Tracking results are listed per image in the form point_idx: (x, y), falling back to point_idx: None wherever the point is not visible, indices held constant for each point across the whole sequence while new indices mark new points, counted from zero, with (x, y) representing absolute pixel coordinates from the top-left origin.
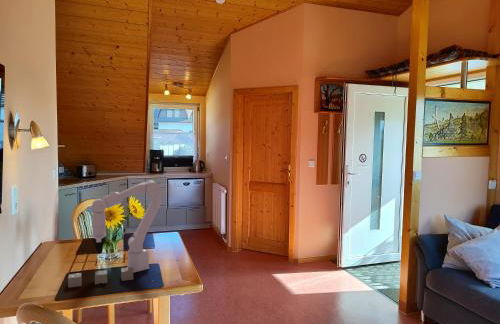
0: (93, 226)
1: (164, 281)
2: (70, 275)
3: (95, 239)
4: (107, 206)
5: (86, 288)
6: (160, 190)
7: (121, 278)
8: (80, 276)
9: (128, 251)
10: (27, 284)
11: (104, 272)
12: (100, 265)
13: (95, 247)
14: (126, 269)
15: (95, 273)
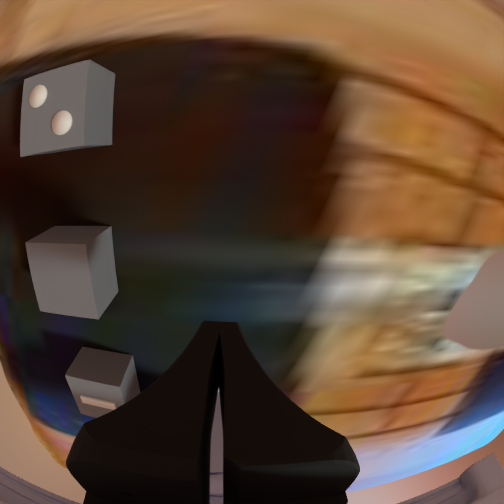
0: None
1: None
2: (64, 77)
3: (150, 498)
4: None
5: (22, 185)
6: None
7: (97, 352)
8: (25, 151)
9: (212, 480)
10: None
11: (60, 300)
12: (383, 263)
13: (170, 368)
14: (91, 400)
15: (51, 246)
